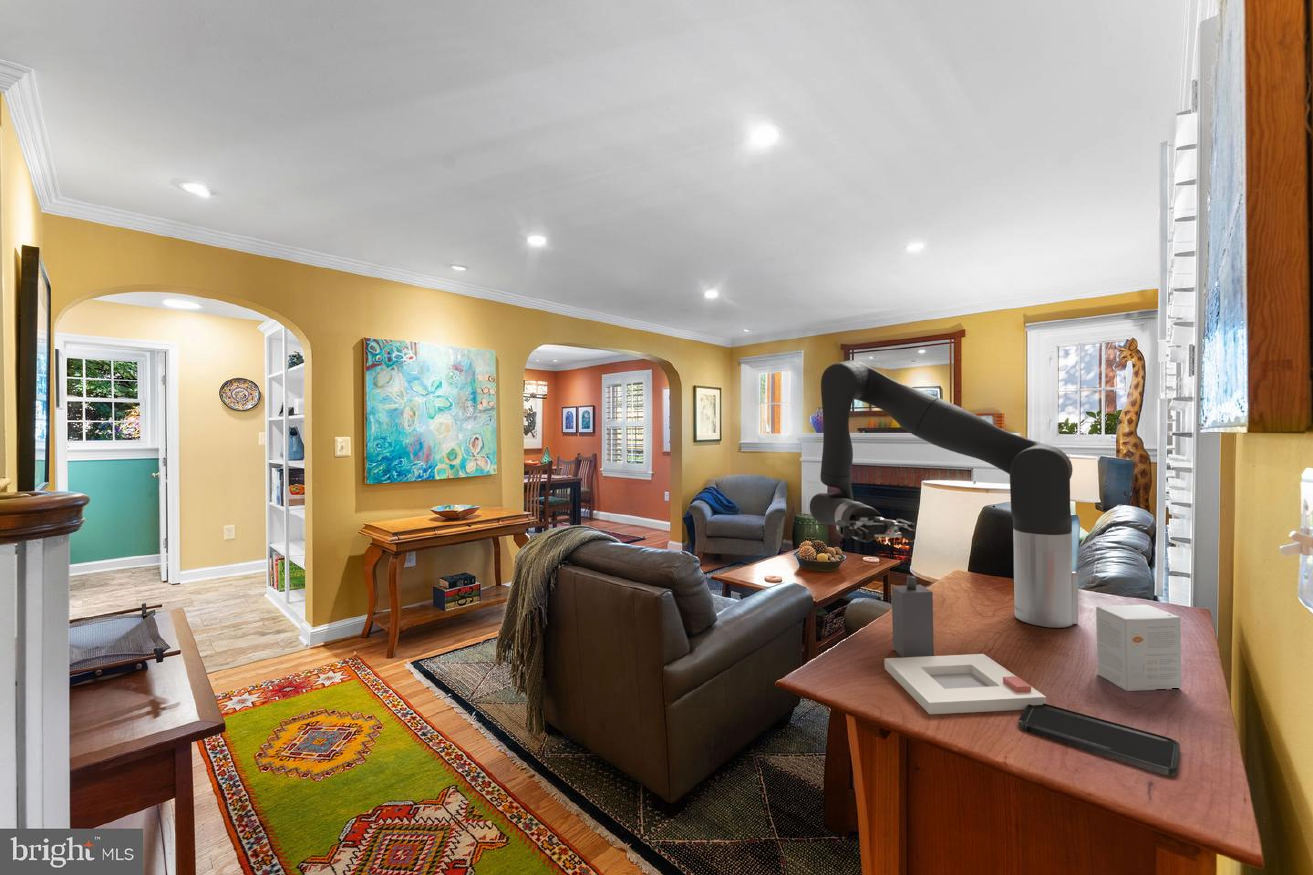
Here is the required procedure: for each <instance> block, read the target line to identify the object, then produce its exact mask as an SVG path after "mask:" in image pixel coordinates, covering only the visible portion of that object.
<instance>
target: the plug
mask: <svg viewBox="0 0 1313 875" xmlns="http://www.w3.org/2000/svg"><path fill="white" fill-rule="evenodd" d="M933 594H934V593H933V591H932V590H930V589H929V588H927V587H925V586H924V585H922V584H917V577H916V576H914V575H907V576H906V585H905V584H904V585H903V584H902V585H891V615H892V617H891V618H892V620H891V621H892V622H891V623H892V625H891V626H892V649H894V650H895V651H896V652H897V653H896V652H895V651H894V650H893V651H894V652H895V653H896V654H897V655H898V656H900V658H906V657H927V656H935V654H934V653H935V652H934V651H935V650H934V648H935V645H934V643H935V642H934V606H933V605H934V604H933V602H934V601H933V599H934V598H933Z"/></svg>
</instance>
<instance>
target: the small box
mask: <svg viewBox="0 0 1313 875" xmlns="http://www.w3.org/2000/svg"><path fill="white" fill-rule="evenodd" d="M1095 612H1096V613H1095V616H1096V617H1095V618H1096V622H1095V623H1096V663H1097V665H1096V667H1097V668H1096V669H1097V670H1096V671H1097V675H1098V676H1099V677H1102V678H1103V679H1104V680H1107V681H1108V682H1110V683H1112V684H1114V685H1116V686H1117V687H1119V688H1120V689H1122V690H1123V691H1126V692H1135V691H1136V692H1137V691H1138V692H1139V691H1157V690H1156V689H1166V690H1173V689H1172V688H1182V642H1181V640H1182V639H1181V638H1182V636H1181V635H1182V634H1181V633H1182V632H1181V630H1182V628H1181V627H1182V625H1181V617H1180V616H1178V615H1175V614H1174V613H1173V614H1172V613H1170V612H1167V611H1166V610H1162V609H1160V608H1157V607H1155V606H1152V605H1149V604H1132V605H1129V604H1127V605H1106V606H1104V605H1103V606H1096V607H1095Z"/></svg>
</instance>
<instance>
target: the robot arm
mask: <svg viewBox="0 0 1313 875" xmlns="http://www.w3.org/2000/svg"><path fill="white" fill-rule="evenodd" d="M820 396H821V406H822V409H821V410H822V426H823V428H822V430H823V434H822V436H823V439H822V440H823V443H822V455H821V456H822V457H821V465H820V476H819V477H820V482H821V483H822V484H823V485H824V486H827V487H831V488H835V489H838V492H835V493H834V492H832V493H831V492H827V493H826V492H821V493H820V492H819V493H816V494H815V495H814V496H812V498H811V499H810V502H809V512H810V514H811V517H812V518H813V519H814V520H815V521H816V522H818V523H820V524H823V525H829V526H834V527H835V528H836V530H835V533H836V534H837V535H839V536H840V537H841V538H842V539H846V540H847V539H850V537H851V538H853V539H855V540H857V541H859V542H862V543H863V542H864V543H869V542H871V541H873V540H875V539H877V538H881V537H884V538H890V539H894V538H897V537H898V538H902V539H904V540H906V541H908V542H914V541H915V539H916V528H915V527H916V523H914V522H911V521H908V520H905V519H902V518H896V520H894V519H890V518H889V519H887V518H884V517H883V516H882V515H881V513H880V512H879V511H878V510H877V509H875V508H874V507H872V506H870V505H867V504H864V503H862V502H861V501H855V500H854V496H853V490H852V482H851V481H852V479H851V478H852V477H851V476H852V471H853V470H852V469H853V460H854V451H853V442H852V438H851V434H850V424H849V423H850V422H849V421H850V413H851V410H852V409H851V408H852V405H853V400H854V401H855V400H856V401H860V402H863V403H866V404H868V405H871V406H873V407H876V408H878V409H880V410H881V411H883V412H885V413H886V414H887V415H889V417H891V418H892V419H893V420H894V421H895V422H896V423H897V424H899V426H900V427H901V428H903V429H904V430H905V431H907V433H910V435H911V434H912V435H914V436H915V437H917V438H919V439H921V440H923V441H926V443H929V444H932V445H934V446H937V447H939V448H942V449H944V450H948V451H950V452H953V453H957V454H959V455H962V456H966V457H971V458H974V459H977V460H980V461H983V462H985V463H988V464H990V465H991V466H994V467H996V468H997V469H999V470H1001V471H1003V472H1004V473H1006V474H1008V475H1009V487H1010V488H1009V493H1010V513H1011V517H1012V529H1013V530H1012V531H1013V532H1012V533H1013V535H1012V536H1013V537H1012V538H1013V540H1012V541H1013V583H1014V584H1013V586H1014V587H1013V588H1014V592H1013V595H1014V596H1013V597H1014V598H1013V599H1014V601H1013V602H1014V605H1013V606H1014V617H1015V618H1016V619H1018V620H1019V621H1021V622H1024V623H1026V624H1030V625H1033V626H1038V627H1045V628H1053V629H1054V628H1057V629H1059V628H1061V629H1062V628H1068V627H1069V628H1070V627H1071V626H1073V625H1076V624H1079V575H1078V573H1077V572H1076V571H1074V570H1073V519H1072V518H1073V517H1072V512H1071V479H1072V476H1073V471H1074V470H1073V465H1072V464H1073V463H1072V461H1071V459H1070V458H1069V456H1068V455H1067V454H1066V452H1063V451H1062V450H1061V449H1059V448H1057V447H1055V446H1053V445H1049V444H1046V443H1042V442H1040V441H1036V440H1033V439H1030V438H1026V437H1023V436H1021V435H1018V434H1016V433H1012V432H1010V431H1007V430H1006V429H1002V428H1000V427H998V426H996V425H995V424H994V423H991V422H990V421H988V420H986V419H984V418H982V417H981V416H978V415H977V414H974V412H970V411H969V410H967V409H964V408H962V407H960V406H958V405H956V404H954V403H952V402H949V401H947V400H946V399H942V398H940V397H938V396H935V395H932V394H929V393H927V392H924V391H923V390H920V389H917V388H915V387H912V386H909V385H906V384H904V383H902V382H898V381H896V380H894V379H892V378H890V377H889V376H887V375H884V374H883V373H881V372H880V371H878V370H877V369H875V368H872V367H871V366H869V365H867V364H866V363H863V362H861V361H859V360H853V359H852V360H851V359H850V360H844V361H840V362H835V363H833V364H830V365H829V366H828V367H827V368H825V369H824V371H823V373H822V374H821V380H820ZM889 532H890V533H889Z"/></svg>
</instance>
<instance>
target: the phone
mask: <svg viewBox="0 0 1313 875" xmlns="http://www.w3.org/2000/svg"><path fill="white" fill-rule="evenodd" d="M1017 721H1018V727H1019V729H1020V730H1023V731H1024V732H1027V733H1029V734H1033V735H1036V736H1039V737H1042V738H1045V739H1050V740H1053V741H1056V742H1059V743H1062V744H1065V745H1068V746H1072V747H1074V748H1077V749H1081V750H1084V751H1087V752H1090V753H1094V754H1097V755H1100V756H1103V757H1106V758H1109V759H1113V760H1116V761H1119V762H1121V763H1125V764H1128V765H1132V766H1134V767H1137V768H1140V769H1141V768H1142V769H1145V770H1147V771H1150V772H1153V773H1157V774H1159V775H1163V776H1167V777H1168V776H1169V777H1173V776H1174V777H1175V776H1177V775H1178V770H1179V769H1178V768H1179V761H1180V760H1179V759H1180V754H1181V745H1180V743H1179V742H1178V741H1177V740H1175V739H1173V738H1172V737H1167V736H1163V735H1160V734H1156V733H1154V732H1150V731H1146V730H1142V729H1139V728H1135V727H1132V726H1128V725H1124V724H1120V723H1117V722H1113V721H1109V720H1105V719H1103V718H1098V717H1095V716H1092V715H1088V714H1084V713H1080V712H1078V711H1074V710H1069V709H1066V708H1062V707H1059V706H1054V705H1052V704H1047V703H1046V704H1043V705H1031V704H1028V705H1027V707H1026V709H1025V710H1023V712H1022V713H1021V715H1020V716H1019V718H1018V720H1017Z"/></svg>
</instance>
